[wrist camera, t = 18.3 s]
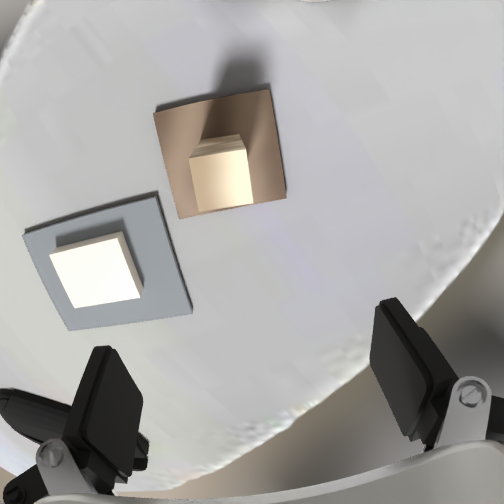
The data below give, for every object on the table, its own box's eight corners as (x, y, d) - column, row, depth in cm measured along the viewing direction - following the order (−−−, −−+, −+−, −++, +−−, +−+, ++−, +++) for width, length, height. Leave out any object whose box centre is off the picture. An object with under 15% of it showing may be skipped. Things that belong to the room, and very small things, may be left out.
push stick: (239, 133, 31) (246, 149, 21) (244, 170, 33) (253, 203, 23) (200, 140, 31) (188, 158, 21) (206, 176, 33) (198, 211, 23)
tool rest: (267, 89, 30) (269, 89, 29) (285, 195, 35) (286, 198, 34) (154, 113, 30) (152, 113, 29) (180, 216, 35) (179, 219, 34)
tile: (143, 287, 38) (122, 230, 35) (140, 297, 36) (117, 238, 33) (79, 298, 38) (56, 247, 35) (74, 308, 36) (49, 255, 33)
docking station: (-16, 369, 46) (-25, 385, 42) (151, 425, 55) (148, 445, 50) (11, 425, 57) (5, 438, 52) (147, 468, 65) (145, 484, 60)
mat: (156, 195, 34) (155, 197, 33) (192, 310, 41) (192, 313, 41) (24, 233, 34) (21, 235, 33) (70, 327, 41) (68, 331, 41)
